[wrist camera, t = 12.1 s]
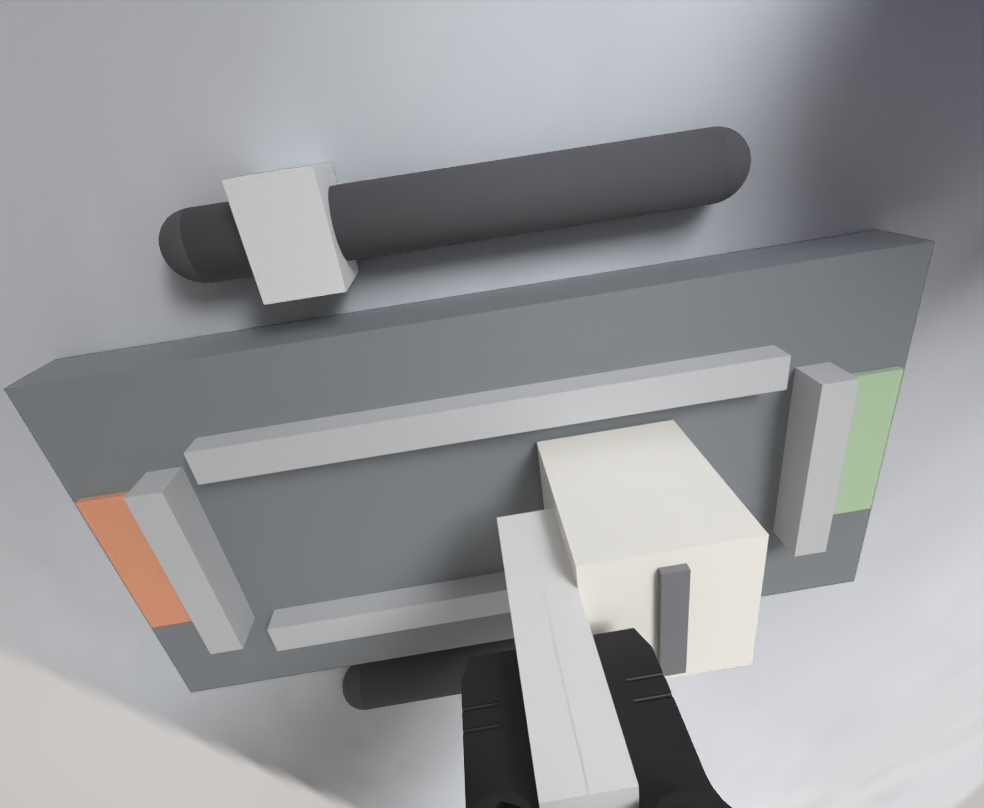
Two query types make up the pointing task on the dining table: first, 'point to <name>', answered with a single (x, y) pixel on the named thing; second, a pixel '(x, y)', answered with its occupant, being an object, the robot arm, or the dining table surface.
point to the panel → (467, 443)
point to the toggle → (658, 543)
